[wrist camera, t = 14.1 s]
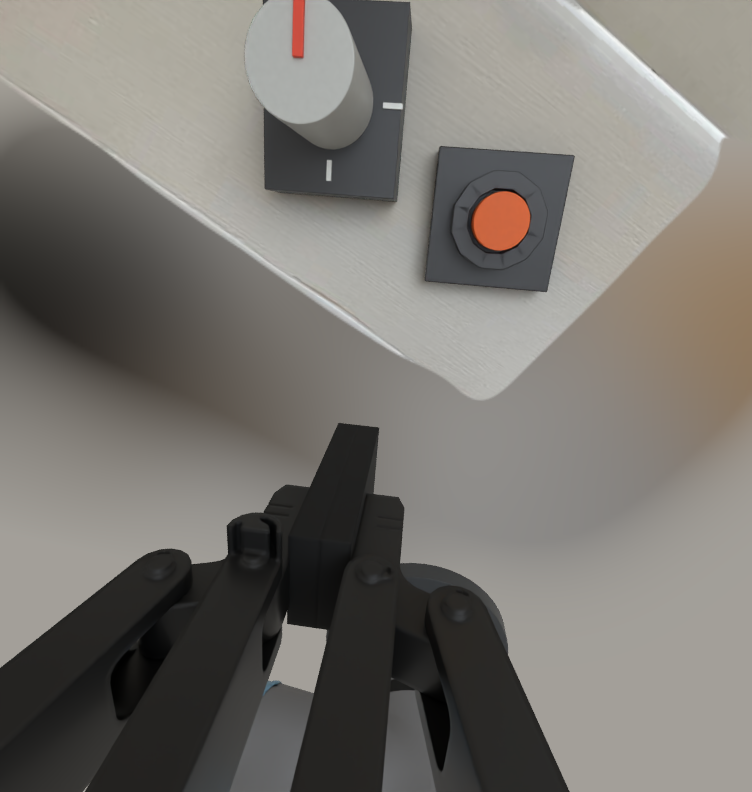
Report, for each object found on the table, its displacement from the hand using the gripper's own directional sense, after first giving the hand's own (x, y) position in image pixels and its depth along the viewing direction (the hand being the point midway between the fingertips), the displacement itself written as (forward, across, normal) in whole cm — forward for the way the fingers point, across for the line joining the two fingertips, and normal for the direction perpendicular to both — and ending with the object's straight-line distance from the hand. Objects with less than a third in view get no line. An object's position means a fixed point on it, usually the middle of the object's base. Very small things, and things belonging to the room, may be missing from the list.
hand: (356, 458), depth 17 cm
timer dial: (+22, -6, +16) cm, 28 cm away
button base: (+26, +7, +9) cm, 29 cm away
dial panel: (+26, -6, +16) cm, 31 cm away
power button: (+23, +7, +9) cm, 25 cm away
